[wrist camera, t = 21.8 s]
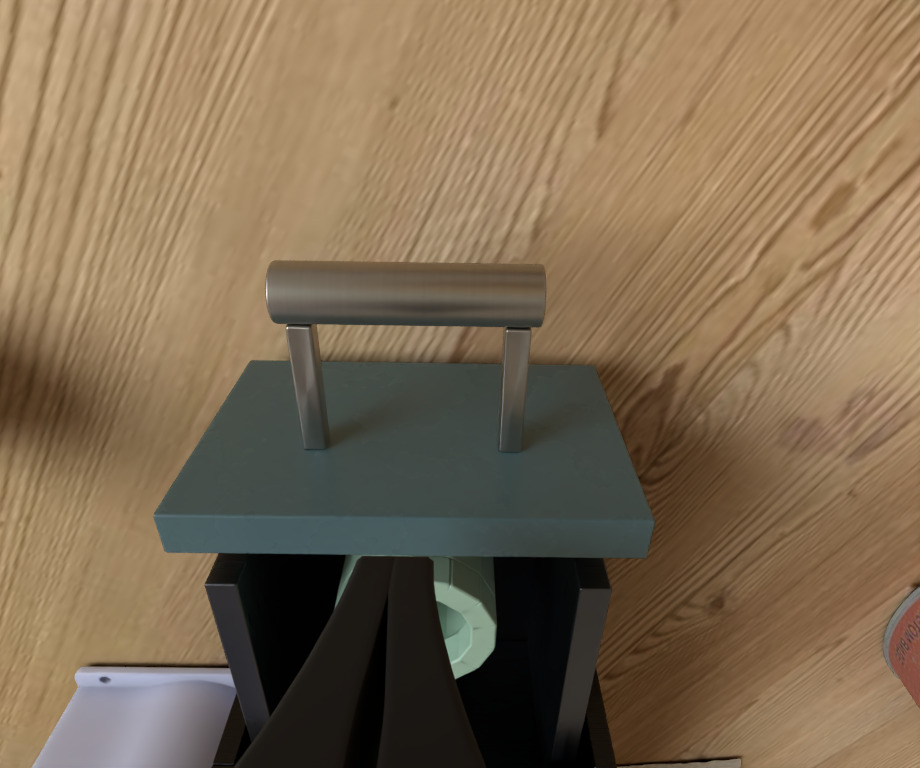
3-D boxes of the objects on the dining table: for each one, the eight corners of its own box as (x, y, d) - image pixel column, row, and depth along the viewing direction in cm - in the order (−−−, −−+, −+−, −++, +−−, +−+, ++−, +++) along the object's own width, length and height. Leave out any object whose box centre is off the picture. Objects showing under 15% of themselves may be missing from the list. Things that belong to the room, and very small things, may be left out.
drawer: (221, 206, 17) (83, 311, 11) (617, 212, 17) (707, 320, 11) (300, 627, 26) (250, 812, 20) (555, 631, 26) (583, 816, 20)
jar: (362, 561, 23) (339, 686, 18) (353, 460, 20) (323, 578, 16) (486, 562, 23) (492, 688, 18) (492, 462, 20) (500, 580, 16)
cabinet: (281, 559, 25) (203, 789, 18) (574, 562, 25) (622, 793, 18) (317, 746, 33) (273, 965, 25) (544, 748, 33) (569, 968, 25)
